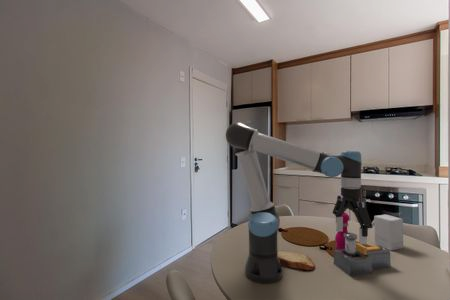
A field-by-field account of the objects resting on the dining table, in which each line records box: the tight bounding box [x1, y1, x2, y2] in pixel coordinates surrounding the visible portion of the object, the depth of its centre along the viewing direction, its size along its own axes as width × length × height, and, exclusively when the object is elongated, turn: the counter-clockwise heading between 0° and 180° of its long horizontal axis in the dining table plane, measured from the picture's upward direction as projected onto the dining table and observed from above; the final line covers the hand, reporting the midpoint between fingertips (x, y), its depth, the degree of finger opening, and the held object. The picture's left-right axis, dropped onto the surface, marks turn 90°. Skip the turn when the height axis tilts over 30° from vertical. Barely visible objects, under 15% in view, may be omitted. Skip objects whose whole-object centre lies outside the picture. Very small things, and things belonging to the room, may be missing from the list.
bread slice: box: [278, 251, 316, 271], centre depth 100 cm, size 18×18×4 cm
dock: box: [333, 245, 391, 277], centre depth 96 cm, size 22×10×7 cm, turn 100°
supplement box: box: [373, 214, 404, 251], centre depth 115 cm, size 9×9×15 cm
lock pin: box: [356, 242, 380, 255], centre depth 96 cm, size 9×5×3 cm, turn 100°
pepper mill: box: [334, 212, 350, 250], centre depth 113 cm, size 7×7×20 cm
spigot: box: [344, 232, 358, 258], centre depth 95 cm, size 5×5×13 cm
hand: (350, 237), depth 95 cm, fingers open, 13 cm apart
